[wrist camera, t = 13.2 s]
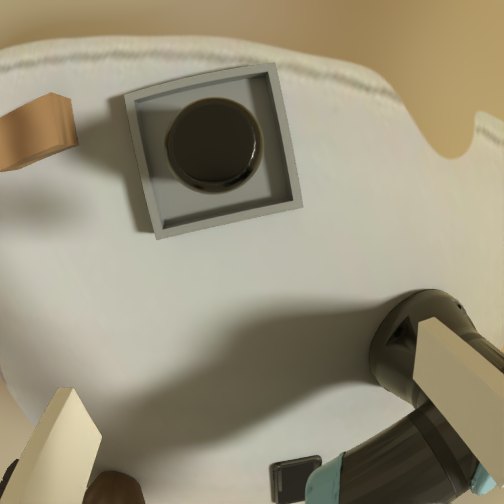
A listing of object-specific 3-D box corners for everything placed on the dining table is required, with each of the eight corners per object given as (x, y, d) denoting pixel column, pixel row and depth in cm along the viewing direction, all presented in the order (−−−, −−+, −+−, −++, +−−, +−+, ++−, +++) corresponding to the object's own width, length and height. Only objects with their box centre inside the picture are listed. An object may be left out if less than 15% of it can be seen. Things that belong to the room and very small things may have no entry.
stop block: (70, 99, 26) (51, 92, 22) (78, 144, 27) (59, 144, 23) (11, 126, 25) (-13, 125, 21) (18, 169, 27) (-5, 172, 23)
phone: (322, 457, 43) (316, 498, 47) (320, 452, 44) (314, 494, 48) (273, 466, 42) (275, 506, 47) (272, 461, 43) (274, 501, 48)
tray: (270, 69, 28) (275, 62, 25) (296, 203, 32) (303, 207, 29) (130, 99, 27) (123, 94, 24) (160, 233, 31) (156, 240, 29)
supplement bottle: (162, 139, 28) (130, 128, 16) (224, 98, 27) (232, 61, 16) (203, 199, 30) (197, 225, 18) (265, 158, 30) (297, 159, 18)
